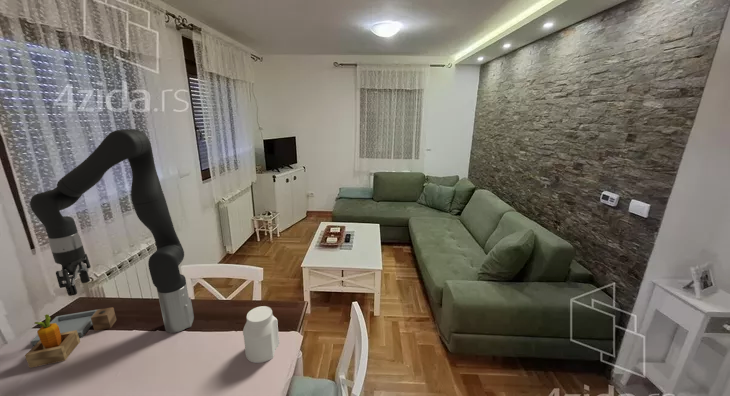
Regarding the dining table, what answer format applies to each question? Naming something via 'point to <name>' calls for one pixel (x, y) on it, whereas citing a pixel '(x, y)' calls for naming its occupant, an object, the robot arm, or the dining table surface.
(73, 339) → the wooden crate
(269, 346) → the jar
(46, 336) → the carrot
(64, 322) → the tray
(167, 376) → the dining table surface
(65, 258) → the robot arm
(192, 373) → the dining table surface
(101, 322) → the walnut block
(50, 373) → the dining table surface
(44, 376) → the dining table surface
